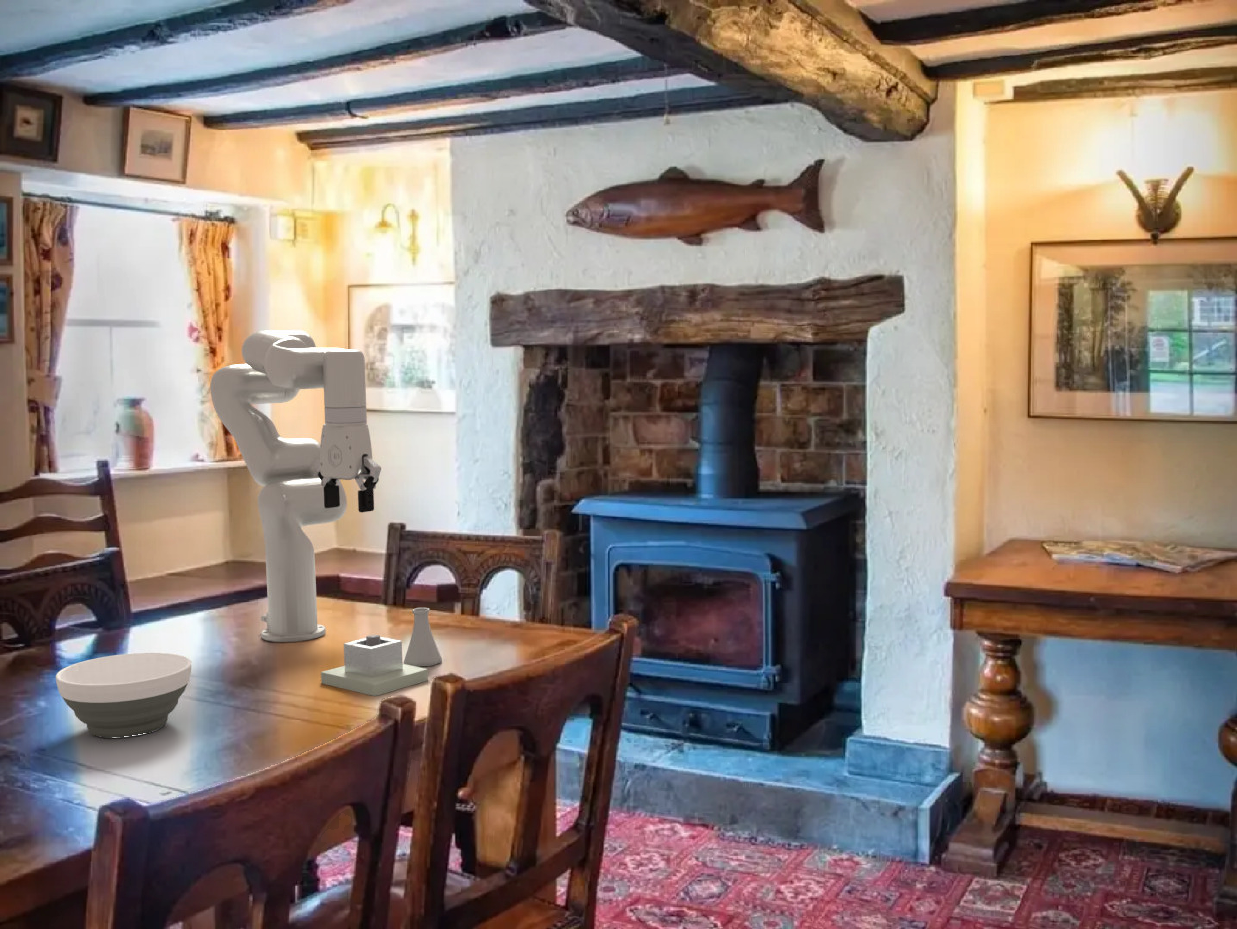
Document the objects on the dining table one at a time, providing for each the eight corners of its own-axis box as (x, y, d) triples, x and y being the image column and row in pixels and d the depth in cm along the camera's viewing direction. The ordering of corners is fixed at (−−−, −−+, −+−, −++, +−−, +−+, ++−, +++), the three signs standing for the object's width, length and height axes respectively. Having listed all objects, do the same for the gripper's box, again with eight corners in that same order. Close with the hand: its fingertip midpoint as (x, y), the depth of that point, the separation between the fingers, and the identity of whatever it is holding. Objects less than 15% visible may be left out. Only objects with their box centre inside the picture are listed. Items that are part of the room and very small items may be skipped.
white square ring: (344, 671, 222) (343, 643, 221) (375, 663, 227) (374, 635, 226) (371, 677, 217) (370, 649, 217) (402, 669, 223) (401, 640, 222)
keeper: (321, 683, 222) (319, 638, 221) (374, 668, 231) (373, 625, 230) (374, 696, 213) (373, 649, 212) (428, 680, 223) (426, 635, 222)
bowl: (59, 756, 185) (55, 691, 184) (59, 720, 203) (55, 661, 202) (200, 736, 193) (197, 675, 192) (188, 704, 211) (185, 647, 210)
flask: (434, 668, 231) (433, 614, 230) (396, 667, 232) (394, 613, 231) (448, 658, 238) (446, 605, 237) (411, 657, 239) (409, 604, 238)
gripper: (299, 416, 237) (303, 508, 239) (360, 419, 226) (363, 515, 228) (331, 414, 243) (335, 503, 245) (392, 417, 232) (395, 510, 234)
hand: (349, 509), depth 236 cm, fingers open, 9 cm apart
